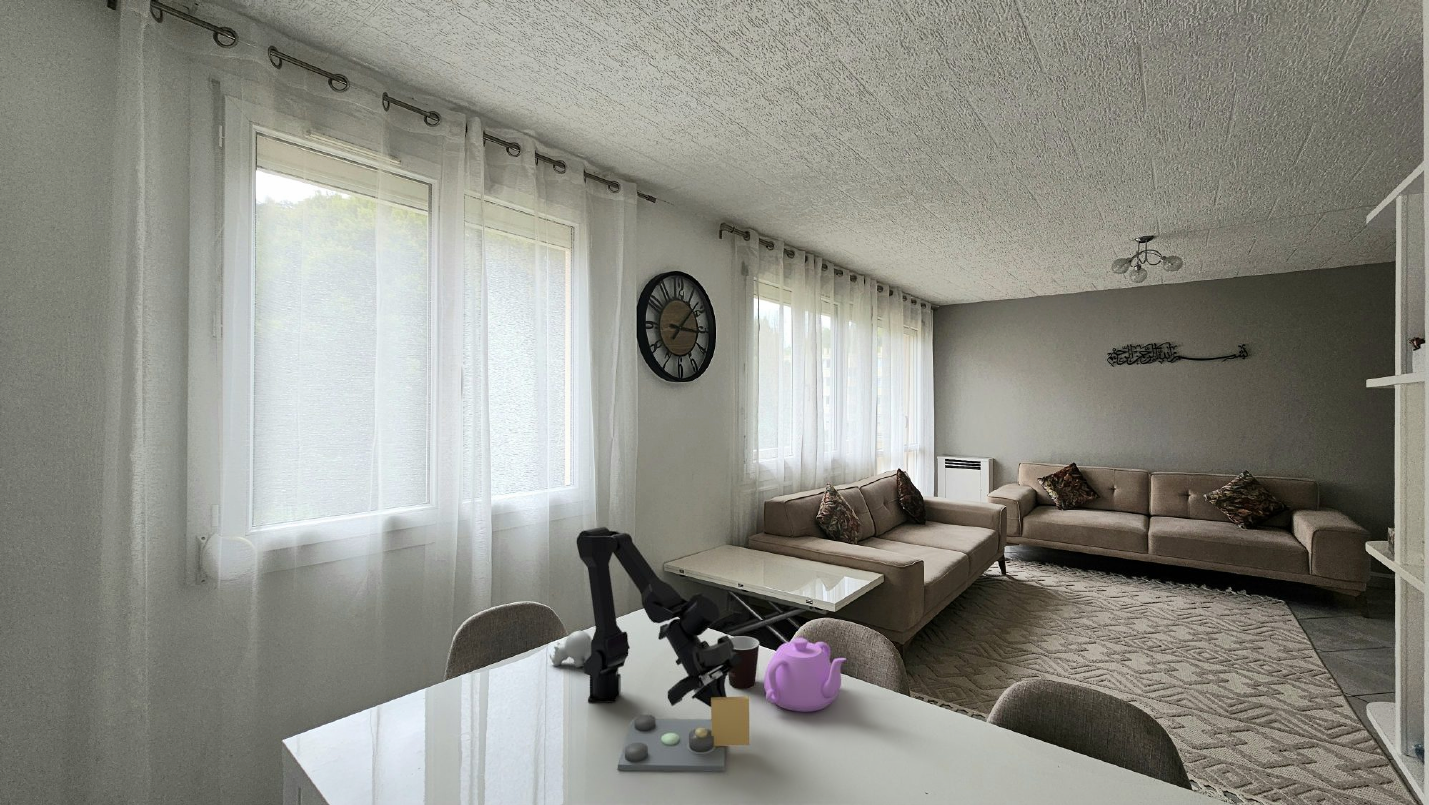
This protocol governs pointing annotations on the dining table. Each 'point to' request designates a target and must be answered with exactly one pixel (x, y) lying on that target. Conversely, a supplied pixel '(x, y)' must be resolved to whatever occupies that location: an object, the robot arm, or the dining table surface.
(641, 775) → the dining table surface
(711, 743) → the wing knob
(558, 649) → the round bodied animal figurine
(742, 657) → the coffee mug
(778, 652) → the teapot
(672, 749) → the plate
